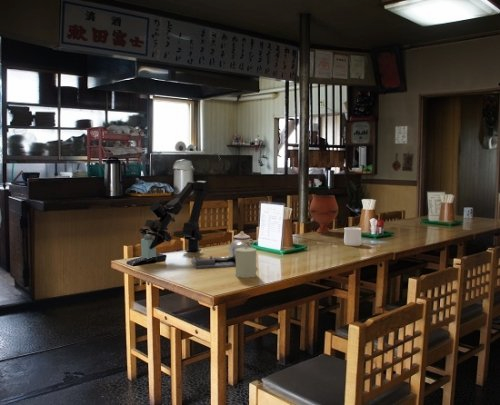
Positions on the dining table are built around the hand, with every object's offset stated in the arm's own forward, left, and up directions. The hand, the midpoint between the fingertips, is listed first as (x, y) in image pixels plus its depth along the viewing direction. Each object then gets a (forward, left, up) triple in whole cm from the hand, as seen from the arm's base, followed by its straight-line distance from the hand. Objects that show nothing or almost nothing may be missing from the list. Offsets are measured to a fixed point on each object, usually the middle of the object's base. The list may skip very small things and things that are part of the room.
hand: (146, 248), depth 239 cm
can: (+10, +55, -7) cm, 57 cm away
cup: (-79, +90, -7) cm, 120 cm away
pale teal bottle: (-1, 0, -7) cm, 7 cm away
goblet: (-120, +66, -7) cm, 137 cm away
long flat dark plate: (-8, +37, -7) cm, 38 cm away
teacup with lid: (-35, +38, -7) cm, 53 cm away
